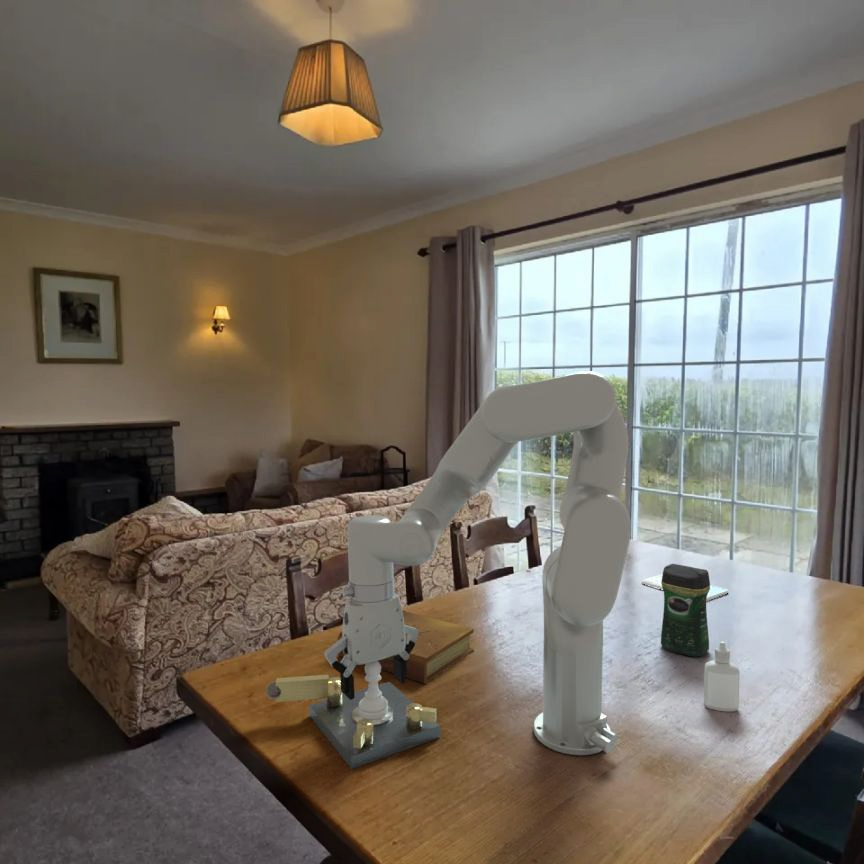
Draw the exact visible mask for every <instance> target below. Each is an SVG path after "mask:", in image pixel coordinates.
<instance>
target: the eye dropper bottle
mask: <svg viewBox="0 0 864 864" xmlns="http://www.w3.org/2000/svg"><path fill="white" fill-rule="evenodd" d="M730 656H731V651H730V649H728V648H727V647H726V642H725V641H720V642H719V646H717V647H715V649H714V659H713V660H709V661H707V662H706V663H705V664H704V674H703V703H704V706H705V707H706V708H707V709H709V710H712V711H713V710H714V711H719V712H727V713H728V712H729V713H730V712H732V713H733V712H737V711H738V710H739V706H740V669H739V667H738V666H737V665H736V664H735V663H733V662H730V661H731V659H730V658H731V657H730Z"/></svg>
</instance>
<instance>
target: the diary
mask: <svg viewBox="0 0 864 864" xmlns="http://www.w3.org/2000/svg"><path fill="white" fill-rule="evenodd" d="M402 612H403V618H404V625H407V626H410V627H414V628H415V629H417V630H419V634H418V637H417V639H416V641H415V646H414V648H413V649H412V651H411V652H410V654H409V659H408V660H406V663H407V675H406V679H408V678H409V680H411V679H412V681H414V680H415V681H414V682H417V681H418V683H420V682H421V683H420V684H423V683H424V684H423V685H427V684H428V683H430V682H431V681H433V680H434V679H435V677H436V676H437V675H439V674H440V673H441V674H443V673H444V672H445V671H444V670H446V669H447V668H449V667H450V666H452V665H453V664H454V665H455V663H456V662H457V663H459V662H460V661H462V660H463V659H465V658H466V657H468V656H469V655H470V654H472V653H473V652H474V651H475V649H474V648H471V646H470V645H471V644H470V639H471V638H470V636H471V635H472V634H474V632H475V631H474V630H475V629H474V628H473V627H470V626H465V625H462V624H457V623H453V622H450V621H445V620H441V619H438V618H433V617H429V616H426V615H422V614H417V613H414V612H410V611H406V610H402ZM342 632H343V630H342V631H340V632H339V634H338V636H337V641H338V640H339V639H341V638H342ZM407 636H408V634H405V637H406V639H407ZM472 651H473V652H472ZM471 652H472V653H471ZM469 653H470V654H469ZM468 654H469V655H468ZM339 655H340V656H339ZM467 655H468V656H467ZM337 656H339V657H342V656H343V657H344V656H345V655H344V654H343V650H342V651H341V652H339V653H338V654H337ZM465 656H466V657H465ZM343 657H342V658H343ZM393 657H394V656H392V657H388V658H385V659H381V660H378V662H379V663H380V665H381V669H382V670H381V671H384V670H385V672H387V671H388V672H387V673H390V672H391V674H393V673H394V670H393ZM464 657H465V658H464ZM462 658H463V659H462ZM461 659H462V660H461ZM459 660H460V661H459ZM458 661H459V662H458ZM457 663H456V664H457ZM454 665H453V666H454ZM453 666H452V667H453ZM450 668H451V667H450ZM450 668H449V669H450ZM447 670H448V669H447ZM447 670H446V671H447ZM443 671H444V672H443ZM442 672H443V673H442ZM441 674H440V675H441ZM440 675H439V676H440ZM437 677H438V676H437ZM437 677H436V678H437ZM433 678H434V679H433ZM432 679H433V680H432ZM430 680H431V681H430ZM429 681H430V682H429ZM426 683H427V684H426Z"/></svg>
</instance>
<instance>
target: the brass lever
mask: <svg viewBox="0 0 864 864" xmlns="http://www.w3.org/2000/svg"><path fill="white" fill-rule="evenodd" d="M265 691H266V695H267V697H269V699H271V700H272V699H273V700H275V702H276V703H279V702H280V703H283V702H294V701H295V702H296V701H309V700H319V699H320V700H321V699H326V700H327V705H328V706H331V707H335V706H339V705H341V704H342V703H343V695H344V694H343V693H342V691H341V678H340V676H331V677H330V676H329V674H319V675H318V674H317V675H305V676H304V675H303V676H301V675H300V676H290V677H289V676H288V677H277V678H276V680H275V681H271V682H270V683H269V684H268V685H267V687H266V690H265Z"/></svg>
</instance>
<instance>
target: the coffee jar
mask: <svg viewBox="0 0 864 864" xmlns="http://www.w3.org/2000/svg"><path fill="white" fill-rule="evenodd" d="M662 574H663V576H662V581H661V583H662V587H663V590H664V591H663V614H662V615H663V616H662V625H661V633H660V645H661V646H662V648H663V649H665V650H668V651H670V652H673V653H678V654H681V655H684V656H688V657H693V658H695V657H701V656H704V655H706V654H707V653H708V651H709V649H710V637H709V627H708V615H707V613H708V612H707V602H706V600H707V594H708V592H709V590H710V585H711V583H710V575H709V572H708V570H707V569H703V568H697V567H694V566H687V565H682V564H677V563H670V564H668V565H666V566H664V568H663V571H662Z"/></svg>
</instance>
